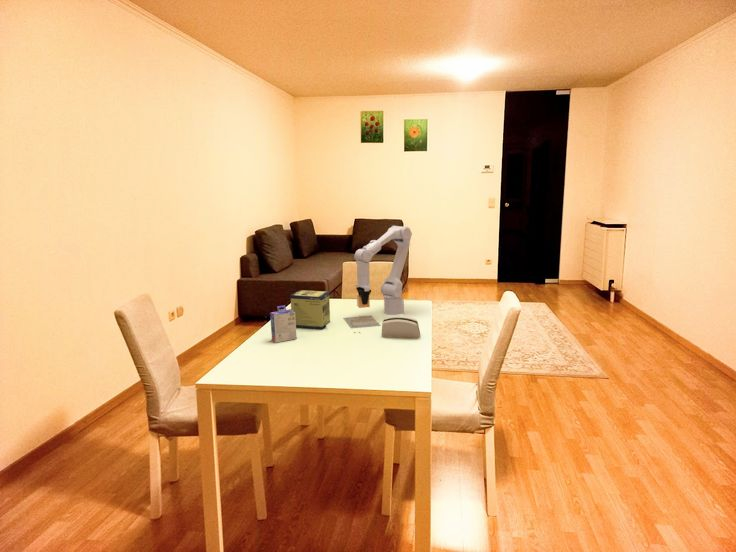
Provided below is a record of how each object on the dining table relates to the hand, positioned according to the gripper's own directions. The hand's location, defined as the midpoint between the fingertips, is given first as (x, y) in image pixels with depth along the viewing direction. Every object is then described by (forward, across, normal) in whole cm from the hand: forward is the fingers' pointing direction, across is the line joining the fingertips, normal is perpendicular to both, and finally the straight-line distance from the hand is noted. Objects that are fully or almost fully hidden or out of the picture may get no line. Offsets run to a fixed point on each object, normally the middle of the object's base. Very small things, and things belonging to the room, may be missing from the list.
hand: (363, 303), depth 242 cm
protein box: (+9, 0, -25) cm, 27 cm away
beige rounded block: (+9, +26, +10) cm, 29 cm away
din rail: (+9, +7, -2) cm, 12 cm away
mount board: (+9, +3, -2) cm, 10 cm away
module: (+2, 0, 0) cm, 2 cm away
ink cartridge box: (+10, +17, -39) cm, 43 cm away
